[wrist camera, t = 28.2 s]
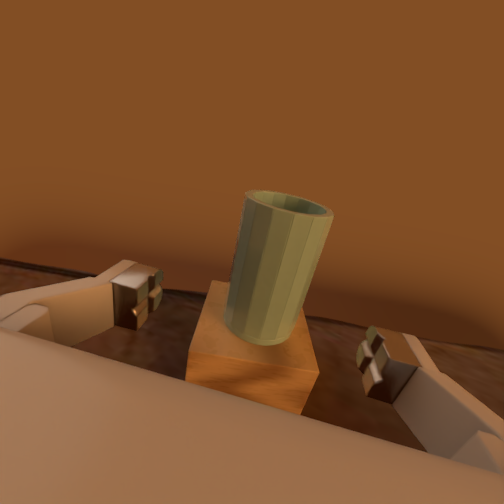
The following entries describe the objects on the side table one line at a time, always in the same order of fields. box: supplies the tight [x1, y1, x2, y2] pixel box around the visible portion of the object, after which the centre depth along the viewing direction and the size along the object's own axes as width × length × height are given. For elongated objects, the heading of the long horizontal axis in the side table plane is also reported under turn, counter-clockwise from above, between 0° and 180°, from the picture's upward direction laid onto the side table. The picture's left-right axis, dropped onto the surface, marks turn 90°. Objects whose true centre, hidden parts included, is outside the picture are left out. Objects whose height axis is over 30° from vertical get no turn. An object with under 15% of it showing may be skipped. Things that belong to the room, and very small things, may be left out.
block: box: [185, 280, 319, 415], centre depth 21 cm, size 9×9×5 cm
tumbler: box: [223, 190, 334, 346], centre depth 18 cm, size 6×6×10 cm
